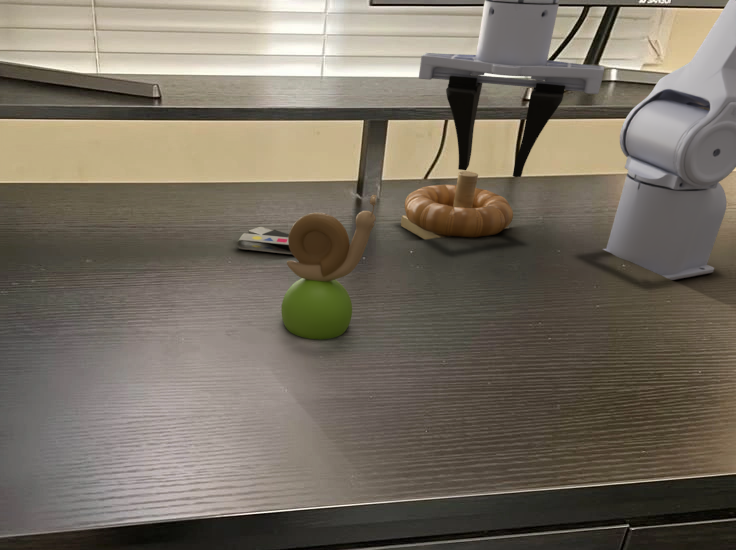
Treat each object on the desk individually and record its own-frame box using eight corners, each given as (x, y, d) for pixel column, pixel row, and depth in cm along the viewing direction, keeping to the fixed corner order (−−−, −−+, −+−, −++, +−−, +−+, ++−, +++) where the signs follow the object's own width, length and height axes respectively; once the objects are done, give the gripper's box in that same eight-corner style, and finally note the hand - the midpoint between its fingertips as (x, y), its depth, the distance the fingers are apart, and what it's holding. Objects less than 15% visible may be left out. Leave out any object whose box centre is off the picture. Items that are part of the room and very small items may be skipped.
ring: (465, 203, 87) (469, 178, 86) (531, 234, 78) (537, 206, 77) (383, 213, 83) (387, 186, 82) (443, 246, 74) (448, 218, 73)
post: (465, 217, 86) (475, 159, 83) (518, 243, 79) (531, 181, 76) (400, 225, 83) (408, 166, 80) (449, 253, 76) (459, 189, 73)
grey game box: (326, 254, 74) (326, 244, 74) (293, 268, 71) (294, 258, 70) (261, 233, 79) (261, 224, 79) (227, 245, 76) (227, 236, 75)
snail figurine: (358, 363, 56) (376, 208, 50) (274, 353, 57) (281, 199, 51) (364, 331, 60) (380, 185, 54) (286, 322, 61) (294, 178, 55)
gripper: (422, -1, 58) (400, 171, 65) (621, 10, 54) (576, 193, 61) (437, -5, 64) (415, 153, 71) (617, 4, 60) (577, 172, 66)
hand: (490, 170), depth 66 cm, fingers open, 4 cm apart
